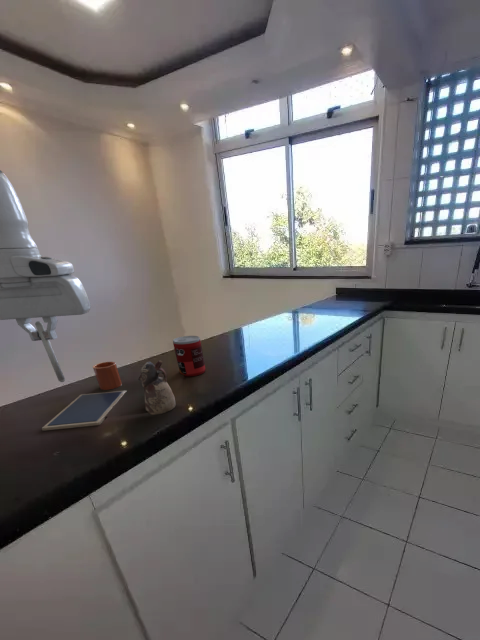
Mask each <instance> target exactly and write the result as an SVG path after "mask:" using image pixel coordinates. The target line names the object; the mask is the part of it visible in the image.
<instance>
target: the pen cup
mask: <svg viewBox="0 0 480 640" xmlns="http://www.w3.org/2000/svg"><path fill="white" fill-rule="evenodd" d="M92 369H93V372H94V375H95V378H96V380H97V381H96V382H97V383H98V386H99V389H100V390H102V391H107V390H113V389H117V388H119V387H121V386H122V385H123V382H122V380H121V376H120V373H119V369H118V367H117V363H116V361H103V362H99V363H96V364H94V365H92Z"/></svg>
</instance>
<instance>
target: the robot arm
mask: <svg viewBox="0 0 480 640" xmlns="http://www.w3.org/2000/svg"><path fill="white" fill-rule="evenodd" d="M17 193H18V192H17V191H16V189H15V188H14V186H13V184H12V182H11V181H10V179H9V177H8V176H7V175H6V174H5V173H4V171H2V170H1V169H0V321H7V320H15V322H16V324H17V326H18V327H20V328H21V329H22V330H23V331H24V332H26V333H28V335H29V338H30V340H31V341H32V342H36V341H42V340H41V337H40V335H39V333H38V330H37V328H36V327H34V325H32V324H31V323H33V320H32V319H35V318H36V319H37V318H39V319H40V318H42V321H43V323H45V324H47V325H46V329H45V331H43V332H42V333H43V335H44V336H45V337H44V338H45V339H46V340H49V341H50V340H56V339H58V334H57V332H56V328H57V323H58V320H59V319H58V318H57V317H66V316H81V315H85V314H87V313H89V312H90V310H91V308H92V305H91V301H90V298H89V296H88V294H87V291H86V289H85V287H84V284H83V282H82V281H81V279H79V277H77V276H76V275H73V274H74V273H75V267H74V265H73V263H72V262H70V261H67V260H64V259H63V260H62V259H58V258H55V257H51V256H46V255H43V254H41V252H40V250H39V247H38V245H37V244H36V242H35V240H34V239H33V237H32V235H31V232H30V227H29V220H28V217H27V214H26V213H25V210H24V206H23V205H22V202H21V200H20V198H19V195H18V194H17Z"/></svg>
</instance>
